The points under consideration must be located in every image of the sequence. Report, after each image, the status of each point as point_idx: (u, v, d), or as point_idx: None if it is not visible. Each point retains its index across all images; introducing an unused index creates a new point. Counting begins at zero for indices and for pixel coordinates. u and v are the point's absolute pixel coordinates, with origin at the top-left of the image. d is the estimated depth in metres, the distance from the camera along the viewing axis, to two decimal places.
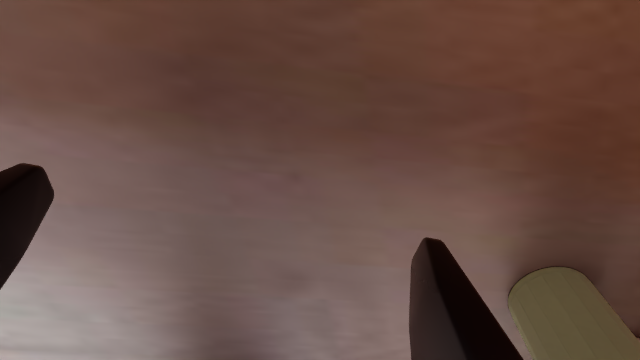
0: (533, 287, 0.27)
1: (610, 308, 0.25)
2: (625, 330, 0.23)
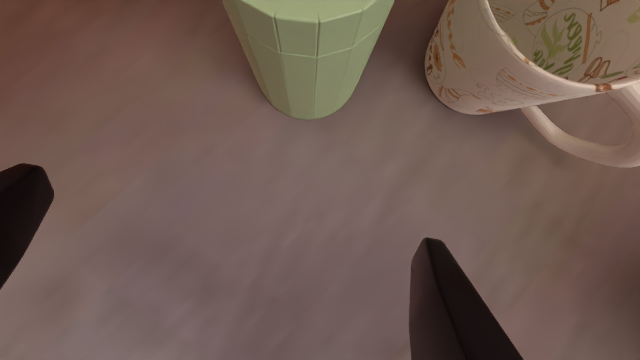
0: None
1: None
2: None
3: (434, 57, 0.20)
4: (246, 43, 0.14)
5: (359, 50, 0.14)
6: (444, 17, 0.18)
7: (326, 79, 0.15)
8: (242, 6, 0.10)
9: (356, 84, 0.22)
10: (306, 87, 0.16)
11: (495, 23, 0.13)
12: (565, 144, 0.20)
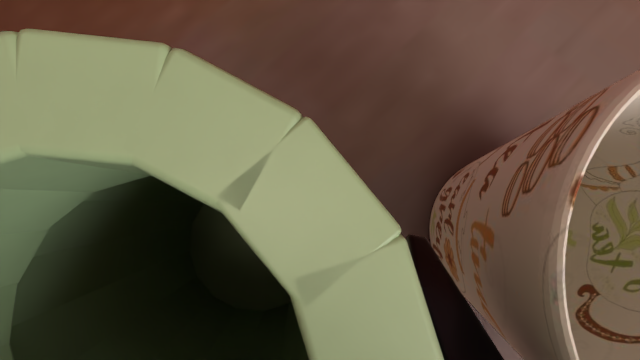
0: None
1: None
2: None
3: (446, 253, 0.13)
4: None
5: None
6: (464, 227, 0.11)
7: None
8: None
9: None
10: None
11: None
12: None
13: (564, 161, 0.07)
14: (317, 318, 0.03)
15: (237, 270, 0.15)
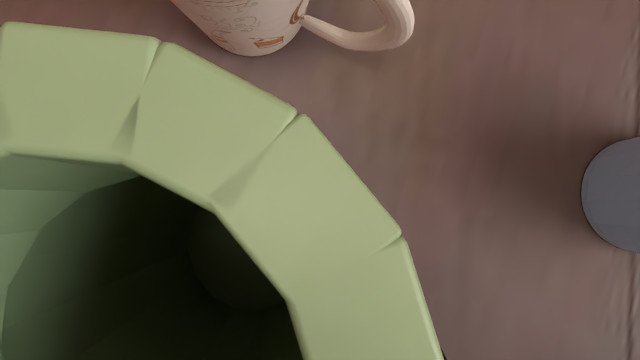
0: None
1: None
2: None
3: None
4: None
5: None
6: None
7: None
8: None
9: None
10: None
11: None
12: (355, 43, 0.19)
13: None
14: (313, 324, 0.03)
15: (236, 270, 0.15)
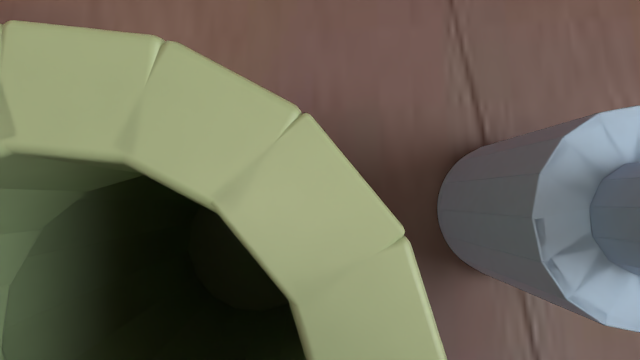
0: None
1: None
2: None
3: None
4: None
5: None
6: None
7: None
8: None
9: None
10: None
11: None
12: None
13: None
14: (317, 323, 0.03)
15: (237, 270, 0.15)
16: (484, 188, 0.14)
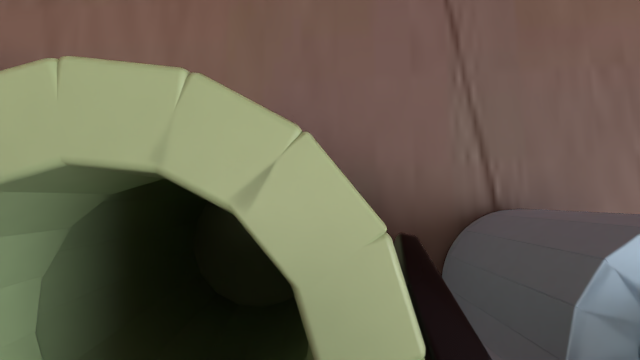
0: None
1: None
2: None
3: None
4: None
5: None
6: None
7: None
8: None
9: None
10: None
11: None
12: None
13: None
14: (314, 304, 0.03)
15: (240, 267, 0.16)
16: (500, 288, 0.12)
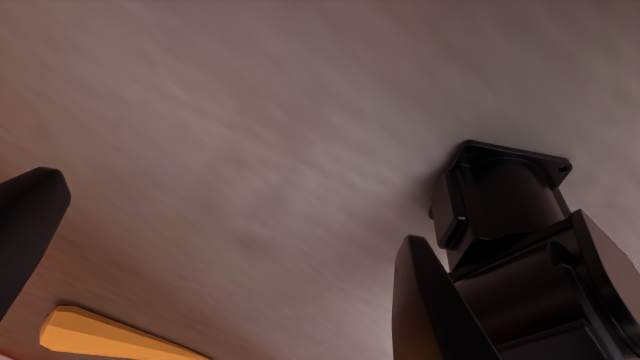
0: None
1: None
2: None
3: None
4: None
5: None
6: None
7: None
8: None
9: None
10: None
11: None
12: None
13: None
14: None
15: None
16: None
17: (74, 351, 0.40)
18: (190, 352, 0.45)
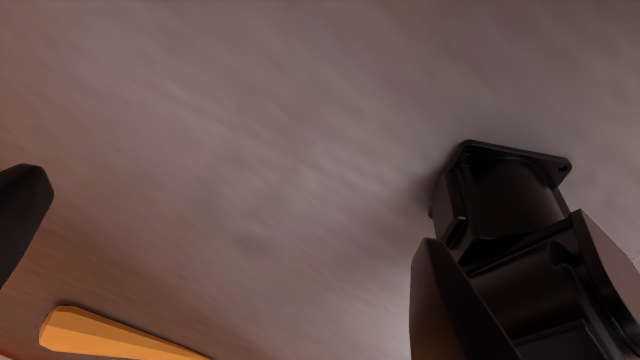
0: None
1: None
2: None
3: None
4: None
5: None
6: None
7: None
8: None
9: None
10: None
11: None
12: None
13: None
14: None
15: None
16: None
17: (74, 351, 0.40)
18: (190, 352, 0.45)
